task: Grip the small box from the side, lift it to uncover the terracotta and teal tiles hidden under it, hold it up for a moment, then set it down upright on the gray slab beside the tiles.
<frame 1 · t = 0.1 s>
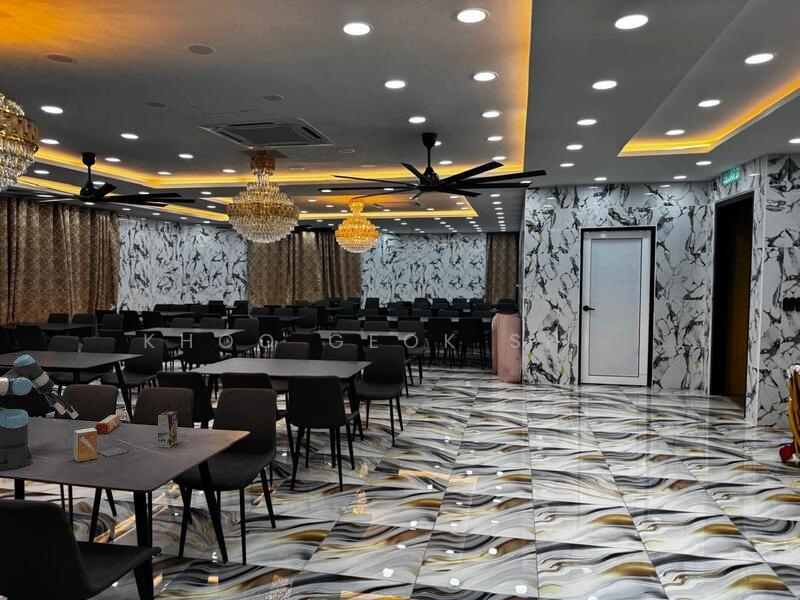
hand: (70, 414, 277), 15 cm above the table, tool tilted 35°, fingers open, 13 cm apart
small box: (85, 459, 256), on the table, touching code tiles
snack package: (108, 430, 308), on the table
gray slab: (113, 452, 266), on the table
code tiles: (85, 458, 256), on the table
coffee box: (167, 445, 281), on the table
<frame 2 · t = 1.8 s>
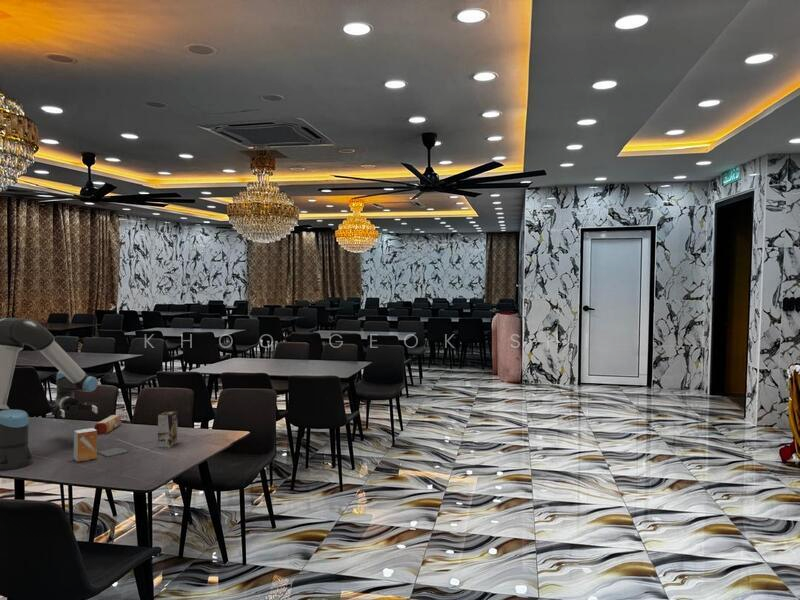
hand: (80, 412, 263), 20 cm above the table, tool horizontal, fingers open, 13 cm apart
nothing on the table moved.
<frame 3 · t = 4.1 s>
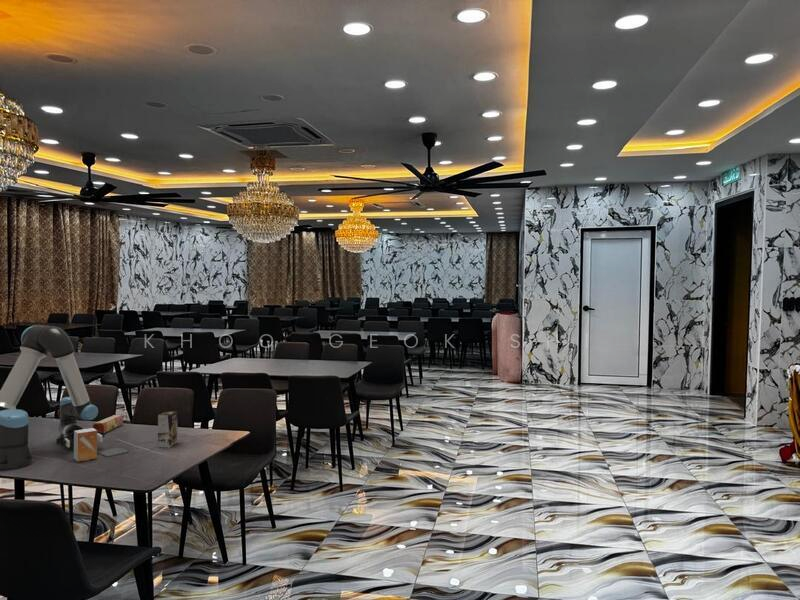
hand: (85, 441, 260), 7 cm above the table, tool horizontal, fingers open, 13 cm apart
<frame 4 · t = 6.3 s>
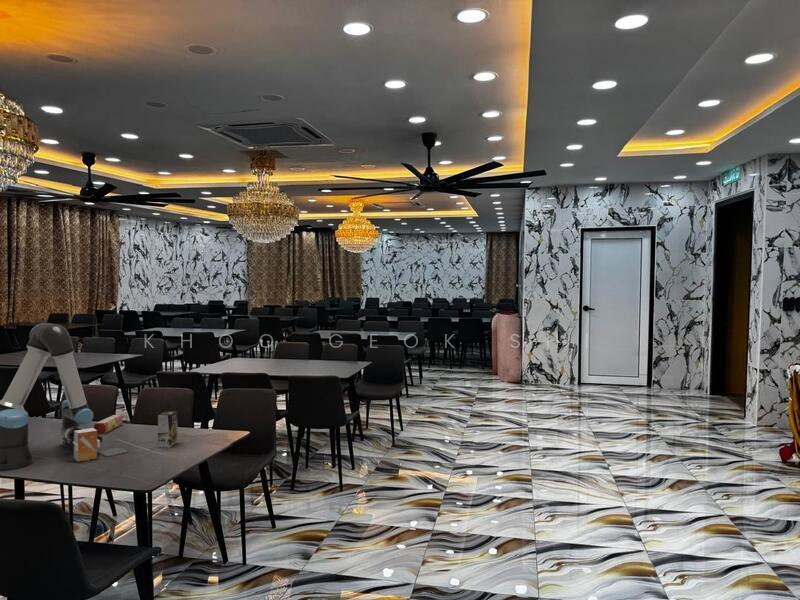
hand: (88, 445, 253), 7 cm above the table, tool horizontal, fingers closed on small box, 8 cm apart
small box: (85, 459, 256), on the table, touching code tiles, gripper
everything else where it was.
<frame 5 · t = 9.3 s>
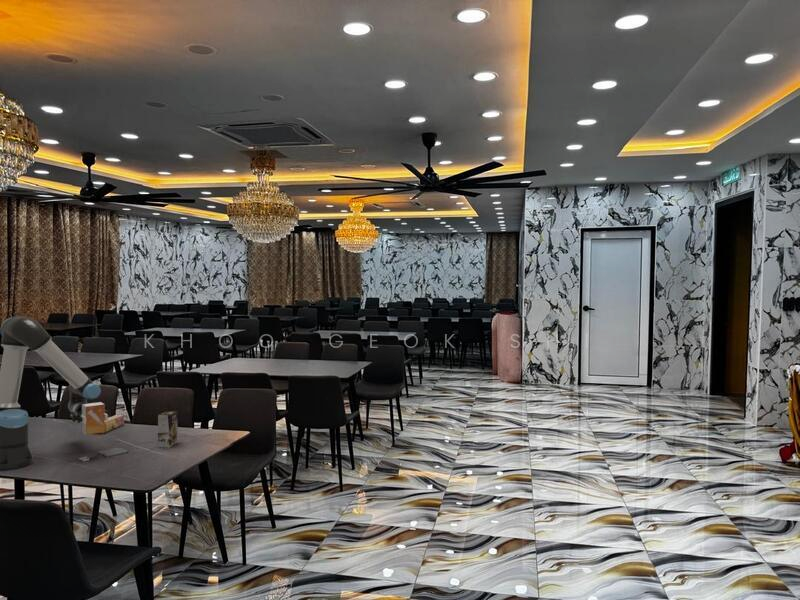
hand: (96, 419, 255), 18 cm above the table, tool horizontal, fingers closed on small box, 8 cm apart
small box: (93, 432, 259), point 11 cm above the table, touching gripper
when the fingers open (8 cm above the table, at t = 12.7 s): small box stays where it is, resting on gray slab.
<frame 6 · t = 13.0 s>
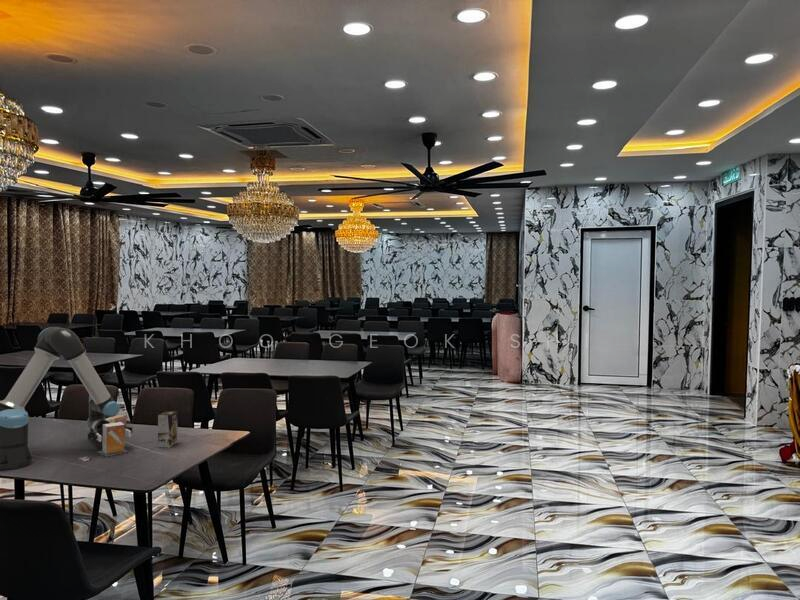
hand: (115, 436, 263), 8 cm above the table, tool horizontal, fingers open, 12 cm apart
small box: (113, 451, 266), resting on gray slab
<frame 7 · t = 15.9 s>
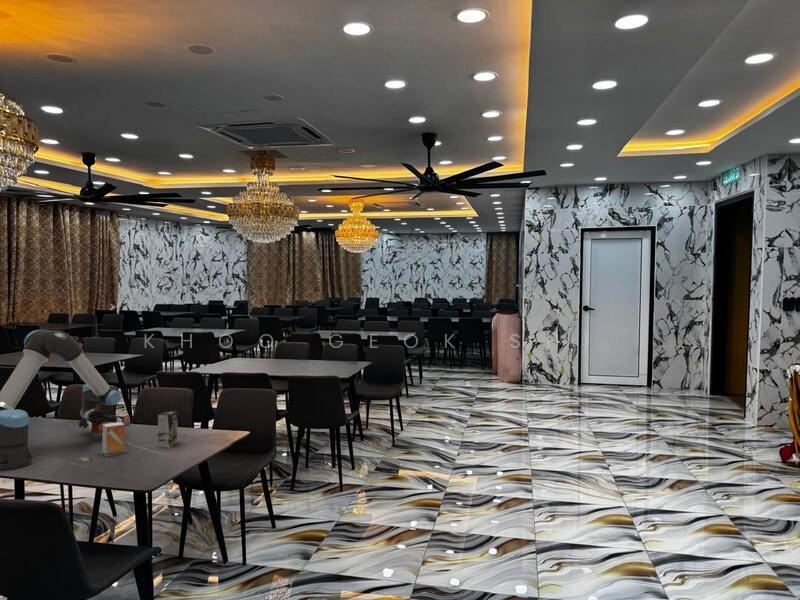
hand: (106, 424, 274), 11 cm above the table, tool horizontal, fingers open, 13 cm apart
snack package: (110, 428, 312), on the table
everything else where it was.
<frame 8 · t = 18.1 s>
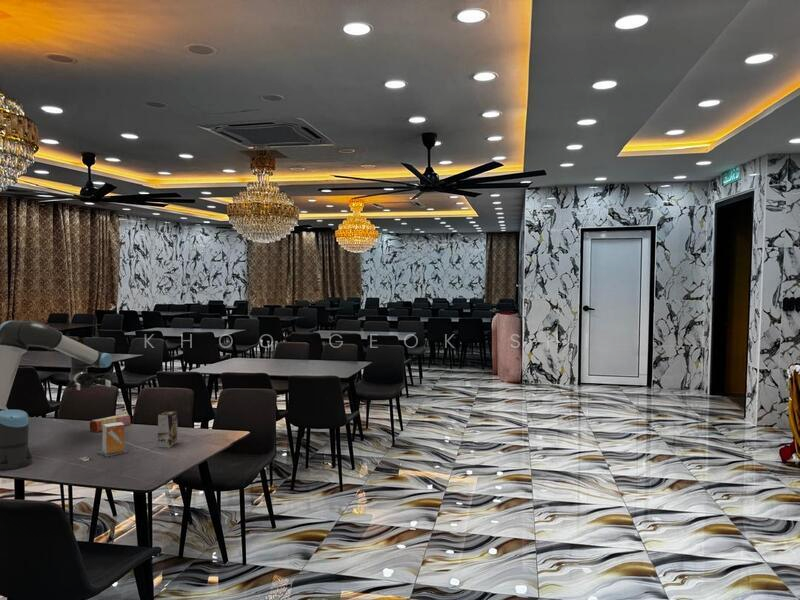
hand: (94, 385, 275), 30 cm above the table, tool horizontal, fingers open, 13 cm apart
nothing on the table moved.
at the end: small box inside the target area (0.1 cm from its centre), resting on gray slab; small box tilted 0°; the gripper is holding nothing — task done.
